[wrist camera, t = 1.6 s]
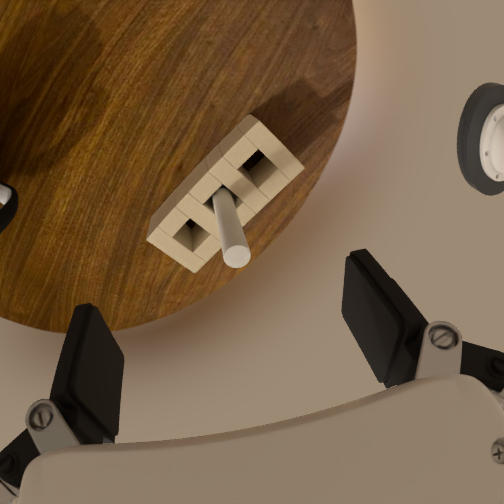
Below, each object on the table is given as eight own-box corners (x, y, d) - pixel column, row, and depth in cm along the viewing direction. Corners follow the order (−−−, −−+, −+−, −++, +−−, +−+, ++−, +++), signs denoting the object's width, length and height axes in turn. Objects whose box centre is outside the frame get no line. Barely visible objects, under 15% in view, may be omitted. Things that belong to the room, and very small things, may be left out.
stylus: (222, 173, 32) (245, 240, 20) (230, 188, 33) (255, 261, 21) (206, 180, 32) (218, 252, 21) (214, 195, 33) (230, 272, 22)
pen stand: (249, 113, 29) (259, 120, 25) (289, 154, 32) (305, 168, 28) (150, 216, 33) (145, 239, 29) (193, 248, 36) (195, 273, 32)
